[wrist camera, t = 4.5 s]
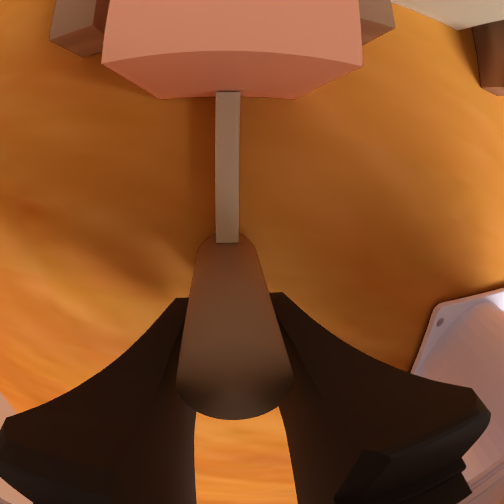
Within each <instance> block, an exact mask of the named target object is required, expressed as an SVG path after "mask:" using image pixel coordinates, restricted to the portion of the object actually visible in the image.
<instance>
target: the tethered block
mask: <svg viewBox="0 0 504 504" xmlns="http://www.w3.org/2000/svg"><path fill="white" fill-rule="evenodd" d="M101 64H103V65H104V66H106V67H108V68H109V69H111V70H113V71H115V72H116V73H118V74H120V75H121V76H123V77H125V78H126V79H128V80H129V81H131V82H133V83H134V84H136V85H138V86H139V87H141V88H142V89H144V90H146V91H147V92H149V93H150V94H152V95H153V96H155V97H156V98H158V99H171V98H186V97H214V96H216V114H215V215H216V234H214V235H212V236H210V237H209V238H207V239H206V240H205V241H204V242H203V243H202V245H201V246H200V248H199V250H198V253H197V258H196V263H195V268H194V274H193V279H192V284H191V290H190V295H189V301H188V307H187V312H186V318H185V324H184V330H183V337H182V343H181V349H180V356H179V363H178V370H177V377H176V387H177V390H178V393H179V395H180V397H181V398H182V399H183V401H184V402H185V403H186V404H187V405H188V406H190V407H191V408H192V409H194V410H195V411H197V412H199V413H201V414H203V415H206V416H209V417H213V418H217V419H225V420H241V419H248V418H253V417H257V416H260V415H263V414H265V413H267V412H269V411H271V410H273V409H275V408H276V407H277V406H279V405H280V404H281V403H282V402H283V401H284V400H285V399H286V398H287V397H288V395H289V394H290V392H291V390H292V387H293V384H294V375H293V371H292V368H291V364H290V361H289V358H288V354H287V351H286V348H285V344H284V341H283V338H282V335H281V331H280V328H279V325H278V321H277V318H276V315H275V312H274V308H273V305H272V302H271V298H270V295H269V292H268V289H267V285H266V282H265V279H264V275H263V272H262V269H261V266H260V262H259V259H258V256H257V253H256V250H255V248H254V246H253V244H252V243H251V242H250V241H249V240H248V239H247V238H246V237H244V236H243V235H240V234H239V142H240V96H241V97H269V98H285V99H297V98H299V97H301V96H303V95H305V94H306V93H308V92H310V91H312V90H314V89H316V88H318V87H320V86H322V85H324V84H326V83H328V82H330V81H332V80H334V79H336V78H338V77H340V76H342V75H345V74H347V73H349V72H351V71H353V70H355V69H358V68H360V67H362V66H363V59H362V39H361V24H360V12H359V2H358V0H110V4H109V9H108V15H107V21H106V27H105V34H104V42H103V50H102V59H101Z"/></svg>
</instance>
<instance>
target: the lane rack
mask: <svg viewBox="0 0 504 504" xmlns="http://www.w3.org/2000/svg"><path fill="white" fill-rule="evenodd" d="M358 2H359V12H360V24H361V39H362V46H363V45H364V44H366V43H368V42H370V41H372V40H373V39H375V38H377V37H379V36H381V35H383V34H385V33H386V32H388V31H390V30H392V29H394V28H395V24H394V17H393V11H392V6H391V0H358ZM109 4H110V0H56V4H55V9H54V14H53V19H52V24H51V30H50V37H49V41H51V42H53V43H55V44H57V45H59V46H61V47H63V48H65V49H67V50H69V51H71V52H73V53H75V54H77V55H79V56H81V57H86V56H90V55H93V54H97V53H101V52H102V50H103V42H104V34H105V27H106V21H107V15H108V9H109ZM472 30H473V35H474V40H475V45H476V51H477V58H478V65H479V73H480V82H481V88H483V89H485V90H487V91H489V92H491V93H493V94H495V95H497V96H504V20H499V21H494V22H490V23H485V24H481V25H477V26H473V27H472Z"/></svg>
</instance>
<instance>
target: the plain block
mask: <svg viewBox="0 0 504 504" xmlns="http://www.w3.org/2000/svg"><path fill="white" fill-rule="evenodd" d="M391 3H394V4H397V5H400V6H403V7H405V8H408V9H411V10H413V11H416V12H418V13H421V14H423V15H425V16H428V17H430V18H432V19H435V20H437V21H439V22H441V23H443V24H445V25H447V26H449V27H451V28H453V29H455V30H457V31H458V30H462V29H465V28H469V27H473V26H477V25H481V24H485V23H490V22H494V21H499V20H504V0H391Z"/></svg>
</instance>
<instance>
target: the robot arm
mask: <svg viewBox="0 0 504 504" xmlns="http://www.w3.org/2000/svg"><path fill="white" fill-rule="evenodd" d="M269 295H270V298H271V302H272V305H273V308H274V312H275V315H276V318H277V321H278V325H279V328H280V331H281V335H282V338H283V341H284V344H285V348H286V351H287V354H288V358H289V361H290V364H291V368H292V371H293V375H294V384H293V387H292V390H291V392H290V394H289V395H288V397H287V398H286V399H285V400H284V401H283V402H282V403H281V404H280V405H279V409H280V412H281V416H282V419H283V422H284V426H285V430H286V435H287V441H288V446H289V452H290V457H291V463H292V469H293V475H294V481H295V487H296V494H297V500H298V504H504V288H500V289H497V290H493V291H489V292H485V293H481V294H477V295H473V296H469V297H465V298H460V299H456V300H451V301H447V302H442V303H440V304H438V305H437V306H436V307H435V308H434V310H433V312H432V315H431V318H430V321H429V324H428V327H427V330H426V333H425V336H424V339H423V342H422V344H421V347H420V350H419V352H418V355H417V357H416V360H415V362H414V365H413V367H412V370H411V372H410V373H408V372H405V371H403V370H400V369H397V368H395V367H393V366H390V365H388V364H386V363H383V362H381V361H379V360H376V359H374V358H372V357H370V356H368V355H366V354H365V353H363V352H361V351H359V350H357V349H356V348H354V347H352V346H350V345H349V344H347V343H345V342H344V341H342V340H341V339H339V338H338V337H336V336H335V335H333V334H332V333H331V332H329V331H328V330H326V329H325V328H324V327H322V326H321V325H320V324H318V323H317V322H316V321H315V320H313V319H312V318H311V317H310V316H308V315H307V314H306V313H305V312H304V311H303V310H301V309H300V308H299V307H298V306H297V305H296V304H295V303H294V302H293V301H291V300H290V299H289V298H288V297H287V296H286V295H285V294H284V293H283V292H278V293H269ZM188 301H189V298H176V299H175V300H174V301H173V302H172V303H171V304H170V305H169V306H168V308H167V309H166V310H165V311H164V312H163V313H162V315H161V316H160V317H159V318H158V319H157V320H156V321H155V322H154V324H153V325H152V326H151V327H150V328H149V329H148V330H147V331H146V332H145V333H144V334H143V335H142V336H141V337H140V338H139V339H138V340H137V341H136V342H135V343H134V344H133V345H132V346H131V347H130V348H129V349H128V350H127V351H126V352H125V353H123V354H122V355H121V356H120V357H119V358H118V359H116V360H115V361H114V362H112V363H111V364H110V365H109V366H107V367H106V368H105V369H103V370H102V371H101V372H99V373H98V374H96V375H94V376H93V377H91V378H90V379H88V380H87V381H85V382H84V383H82V384H81V385H79V386H78V387H76V388H74V389H72V390H71V391H69V392H67V393H65V394H63V395H61V396H59V397H57V398H55V399H53V400H51V401H49V402H47V403H45V404H42V405H40V406H38V407H35V408H32V409H30V410H27V411H24V412H22V413H19V414H16V415H13V416H10V417H7V418H6V420H5V422H4V424H3V426H2V428H1V430H0V477H1V478H2V479H3V480H5V481H6V482H7V483H8V484H9V485H11V486H12V487H13V488H14V489H16V490H17V491H18V492H20V493H21V494H22V495H24V496H25V497H26V498H28V499H29V500H30V501H32V502H33V504H197V503H196V489H195V468H194V428H195V419H196V411H195V410H194V409H192V408H191V407H190V406H188V405H187V404H186V403H185V402H184V401H183V399H182V398H181V397H180V395H179V393H178V390H177V387H176V377H177V370H178V363H179V356H180V349H181V343H182V337H183V330H184V324H185V318H186V312H187V307H188ZM0 504H11V503H9V502H7V501H5V500H3V499H1V498H0Z"/></svg>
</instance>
